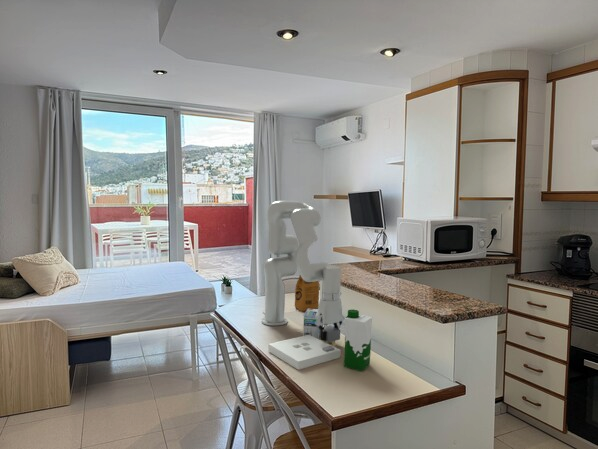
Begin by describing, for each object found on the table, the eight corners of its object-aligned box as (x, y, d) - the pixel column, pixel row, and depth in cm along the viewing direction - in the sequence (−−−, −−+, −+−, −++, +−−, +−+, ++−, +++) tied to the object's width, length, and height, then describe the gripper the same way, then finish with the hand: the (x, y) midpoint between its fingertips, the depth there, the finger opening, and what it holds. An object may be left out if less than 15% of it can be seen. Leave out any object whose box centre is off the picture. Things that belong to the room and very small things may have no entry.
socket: (268, 351, 155) (268, 341, 155) (308, 341, 167) (308, 332, 166) (298, 369, 139) (298, 359, 138) (340, 357, 151) (340, 347, 150)
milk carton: (350, 358, 149) (352, 307, 148) (373, 364, 145) (375, 311, 143) (340, 366, 142) (342, 312, 141) (363, 373, 137) (365, 317, 136)
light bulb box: (318, 340, 168) (318, 315, 168) (302, 339, 170) (303, 314, 169) (321, 332, 179) (322, 309, 178) (307, 331, 180) (307, 307, 179)
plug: (318, 343, 164) (319, 328, 164) (329, 340, 168) (330, 325, 167) (328, 348, 159) (329, 332, 159) (339, 345, 163) (340, 330, 162)
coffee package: (292, 307, 219) (293, 268, 217) (311, 305, 225) (312, 267, 223) (301, 312, 210) (302, 271, 209) (320, 309, 216) (321, 269, 215)
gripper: (340, 291, 170) (338, 332, 171) (308, 296, 160) (307, 339, 161) (352, 295, 164) (350, 337, 165) (320, 300, 154) (319, 345, 155)
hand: (329, 338), depth 163 cm, fingers closed on plug, 6 cm apart
